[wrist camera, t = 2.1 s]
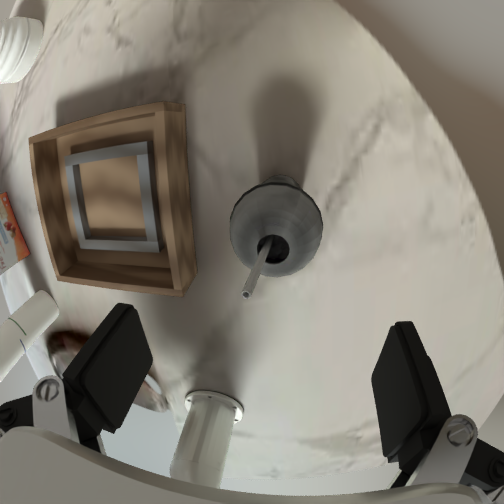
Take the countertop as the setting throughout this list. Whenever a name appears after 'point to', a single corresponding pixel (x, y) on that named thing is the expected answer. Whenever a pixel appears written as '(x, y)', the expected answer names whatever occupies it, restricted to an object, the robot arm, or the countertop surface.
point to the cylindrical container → (25, 328)
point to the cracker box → (10, 237)
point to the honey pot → (18, 47)
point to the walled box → (118, 199)
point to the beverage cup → (275, 229)
